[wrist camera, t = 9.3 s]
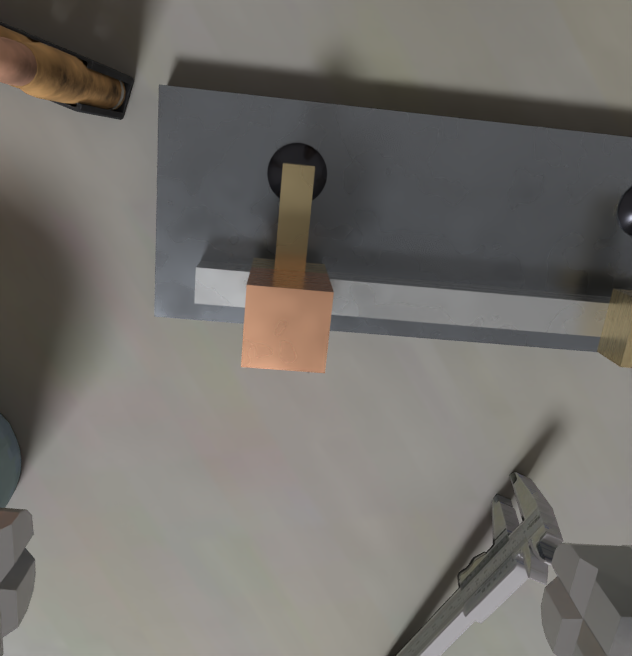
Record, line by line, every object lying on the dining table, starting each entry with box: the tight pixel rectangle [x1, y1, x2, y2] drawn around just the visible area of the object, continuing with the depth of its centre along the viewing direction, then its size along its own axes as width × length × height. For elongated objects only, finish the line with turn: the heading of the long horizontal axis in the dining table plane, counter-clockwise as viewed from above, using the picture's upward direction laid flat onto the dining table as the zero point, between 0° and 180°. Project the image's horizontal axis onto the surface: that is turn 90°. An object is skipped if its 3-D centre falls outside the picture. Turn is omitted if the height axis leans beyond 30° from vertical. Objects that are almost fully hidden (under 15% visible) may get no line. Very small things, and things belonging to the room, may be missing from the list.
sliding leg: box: [241, 163, 334, 373], centre depth 23 cm, size 3×7×6 cm, turn 175°
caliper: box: [395, 472, 563, 656], centre depth 32 cm, size 20×1×6 cm, turn 153°
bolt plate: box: [155, 85, 632, 368], centre depth 26 cm, size 26×10×5 cm, turn 85°
